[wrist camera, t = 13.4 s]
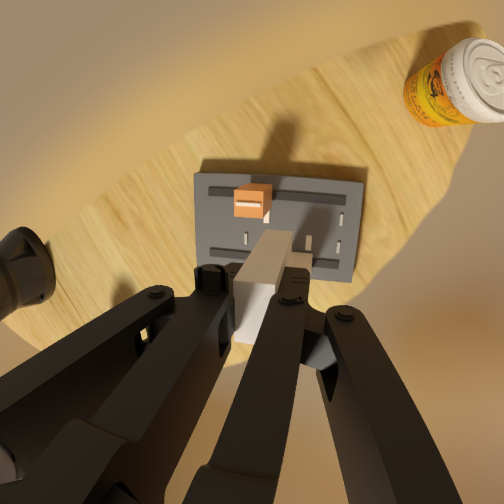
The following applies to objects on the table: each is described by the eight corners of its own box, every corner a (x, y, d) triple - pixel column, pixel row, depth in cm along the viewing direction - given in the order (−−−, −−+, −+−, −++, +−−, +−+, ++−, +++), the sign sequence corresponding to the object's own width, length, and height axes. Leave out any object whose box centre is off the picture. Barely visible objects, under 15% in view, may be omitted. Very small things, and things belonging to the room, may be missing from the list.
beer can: (394, 77, 25) (445, 32, 11) (441, 72, 23) (511, 35, 9) (410, 131, 27) (475, 124, 13) (457, 124, 25) (537, 120, 11)
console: (201, 261, 37) (196, 267, 36) (199, 171, 33) (193, 173, 32) (350, 277, 34) (351, 283, 32) (361, 181, 30) (364, 183, 28)
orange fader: (246, 205, 31) (233, 217, 27) (247, 182, 30) (233, 190, 26) (271, 207, 31) (262, 219, 26) (272, 184, 30) (263, 191, 25)
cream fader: (286, 272, 33) (280, 293, 28) (288, 251, 32) (282, 270, 27) (310, 274, 32) (308, 296, 28) (312, 253, 32) (310, 273, 27)
